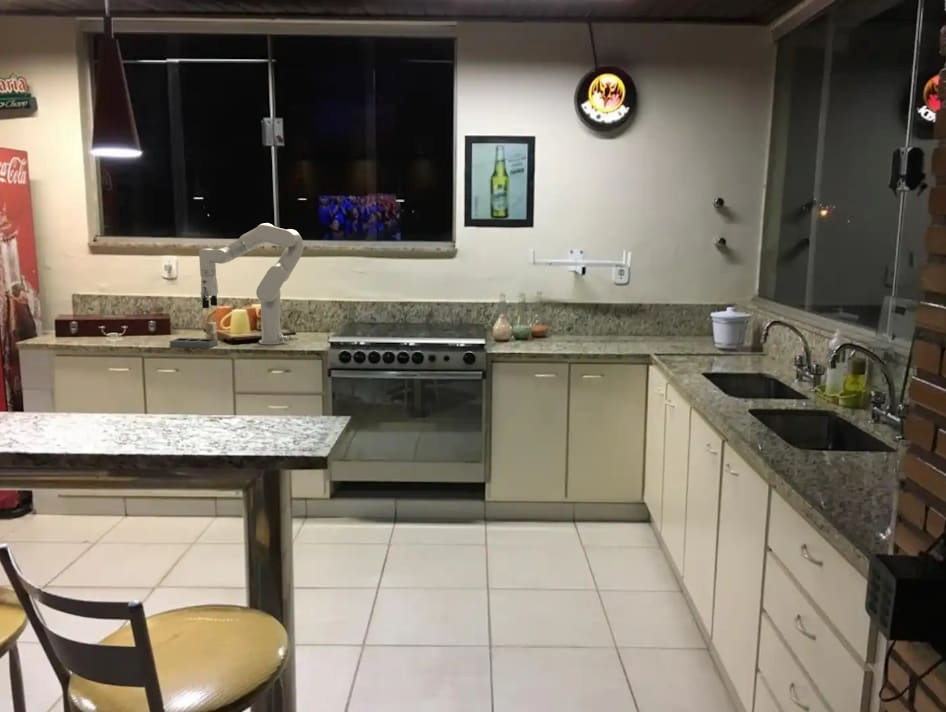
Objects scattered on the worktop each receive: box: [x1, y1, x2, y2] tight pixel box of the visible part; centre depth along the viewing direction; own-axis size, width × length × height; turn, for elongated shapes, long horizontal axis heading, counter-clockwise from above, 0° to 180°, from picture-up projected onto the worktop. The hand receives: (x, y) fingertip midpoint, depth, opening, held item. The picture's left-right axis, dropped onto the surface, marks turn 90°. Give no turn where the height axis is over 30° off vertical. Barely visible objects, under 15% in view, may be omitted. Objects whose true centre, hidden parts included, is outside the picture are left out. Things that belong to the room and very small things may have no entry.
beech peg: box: [205, 321, 218, 340], centre depth 394 cm, size 4×4×10 cm
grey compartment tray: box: [169, 337, 219, 349], centre depth 383 cm, size 20×10×3 cm, turn 85°
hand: (210, 306), depth 391 cm, fingers open, 9 cm apart
